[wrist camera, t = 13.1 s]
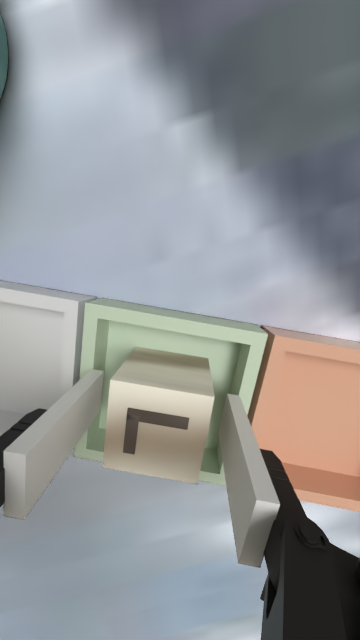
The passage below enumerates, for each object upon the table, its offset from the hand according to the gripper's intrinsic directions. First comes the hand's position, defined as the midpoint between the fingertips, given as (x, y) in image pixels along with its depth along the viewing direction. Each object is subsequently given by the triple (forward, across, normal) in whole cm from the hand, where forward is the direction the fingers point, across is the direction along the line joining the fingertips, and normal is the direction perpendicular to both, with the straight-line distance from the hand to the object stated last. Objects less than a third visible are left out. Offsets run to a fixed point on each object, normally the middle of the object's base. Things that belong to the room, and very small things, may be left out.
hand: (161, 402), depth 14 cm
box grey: (+3, -11, 0) cm, 11 cm away
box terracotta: (+3, +11, 0) cm, 11 cm away
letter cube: (+2, 0, 0) cm, 2 cm away
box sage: (+3, 0, 0) cm, 3 cm away
